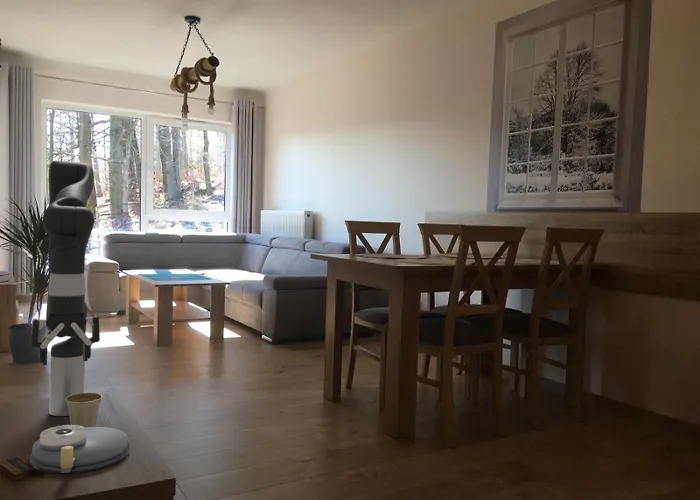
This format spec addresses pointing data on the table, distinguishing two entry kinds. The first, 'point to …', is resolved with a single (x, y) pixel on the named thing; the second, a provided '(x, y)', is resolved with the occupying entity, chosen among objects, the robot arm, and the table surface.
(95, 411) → the flower pot
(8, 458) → the table surface
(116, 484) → the table surface
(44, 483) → the table surface
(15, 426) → the table surface
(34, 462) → the turntable base
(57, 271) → the robot arm
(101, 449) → the turntable
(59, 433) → the cover
